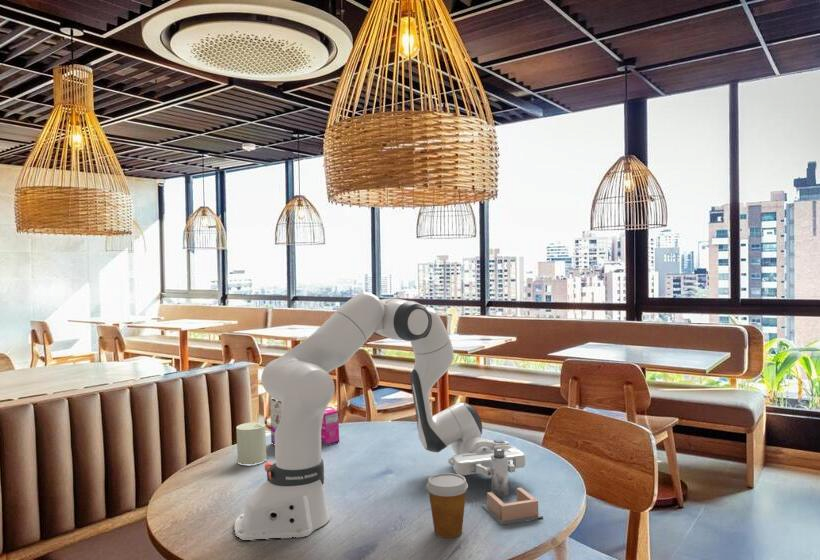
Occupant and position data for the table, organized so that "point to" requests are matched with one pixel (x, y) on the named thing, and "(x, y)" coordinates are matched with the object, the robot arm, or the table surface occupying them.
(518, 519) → the dock
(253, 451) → the can
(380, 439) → the table surface
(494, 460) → the silver water flask
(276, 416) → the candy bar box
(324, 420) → the supplement box
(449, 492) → the disposable coffee cup
